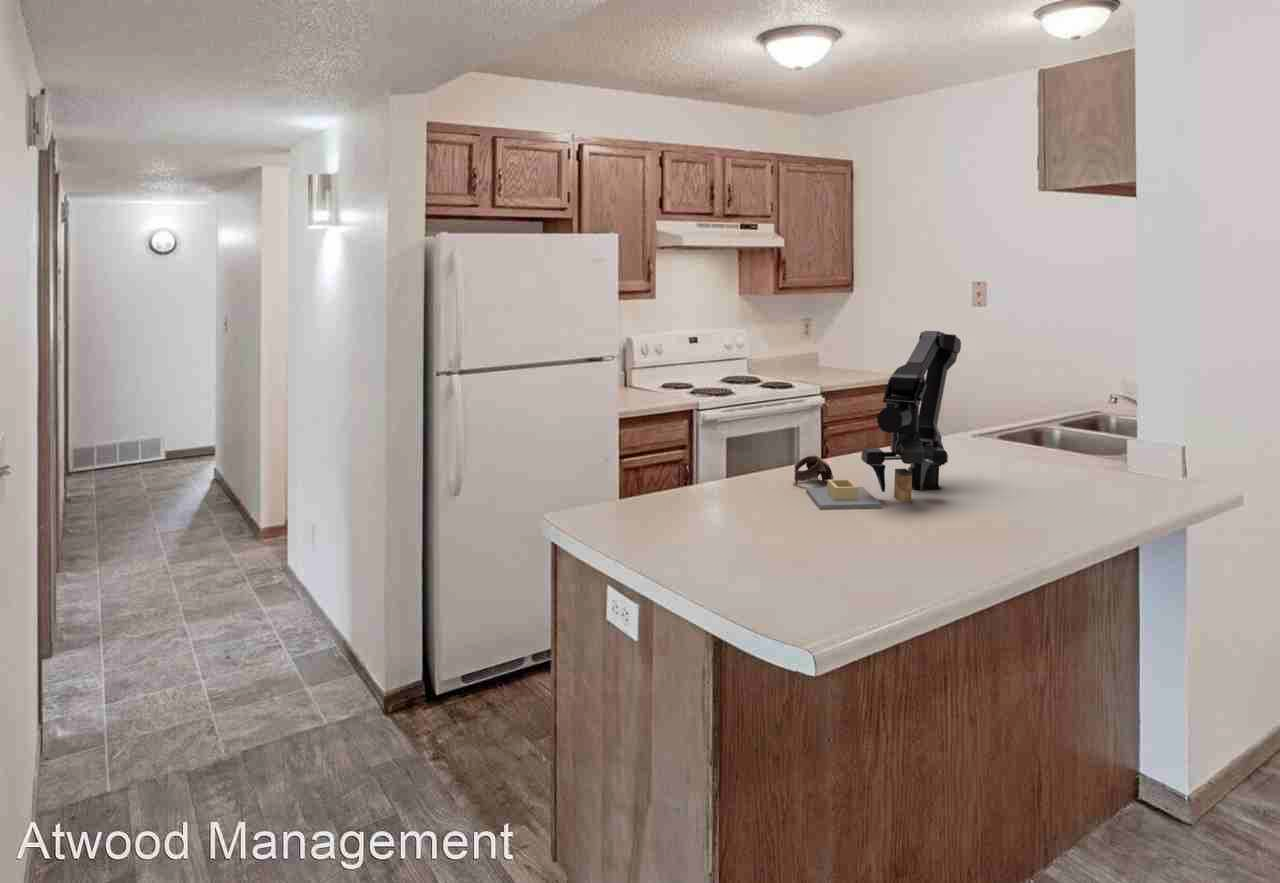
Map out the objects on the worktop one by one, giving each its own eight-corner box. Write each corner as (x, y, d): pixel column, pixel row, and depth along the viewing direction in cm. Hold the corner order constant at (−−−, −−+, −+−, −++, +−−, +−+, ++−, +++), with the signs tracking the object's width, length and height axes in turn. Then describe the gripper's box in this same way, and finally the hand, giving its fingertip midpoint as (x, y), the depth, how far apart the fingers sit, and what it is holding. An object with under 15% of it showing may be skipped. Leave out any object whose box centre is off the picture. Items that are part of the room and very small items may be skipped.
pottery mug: (839, 489, 217) (826, 463, 214) (805, 504, 220) (791, 479, 217) (832, 467, 228) (819, 442, 225) (799, 482, 231) (786, 457, 228)
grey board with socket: (862, 490, 213) (863, 475, 213) (881, 508, 198) (881, 491, 197) (806, 492, 213) (806, 476, 213) (819, 509, 198) (820, 492, 197)
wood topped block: (904, 497, 207) (905, 468, 206) (911, 502, 202) (912, 473, 201) (894, 497, 207) (895, 468, 206) (900, 502, 202) (901, 473, 201)
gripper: (874, 433, 193) (872, 501, 196) (958, 431, 193) (954, 499, 196) (861, 424, 204) (859, 489, 207) (940, 423, 204) (937, 487, 207)
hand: (902, 491), depth 204 cm, fingers open, 9 cm apart
